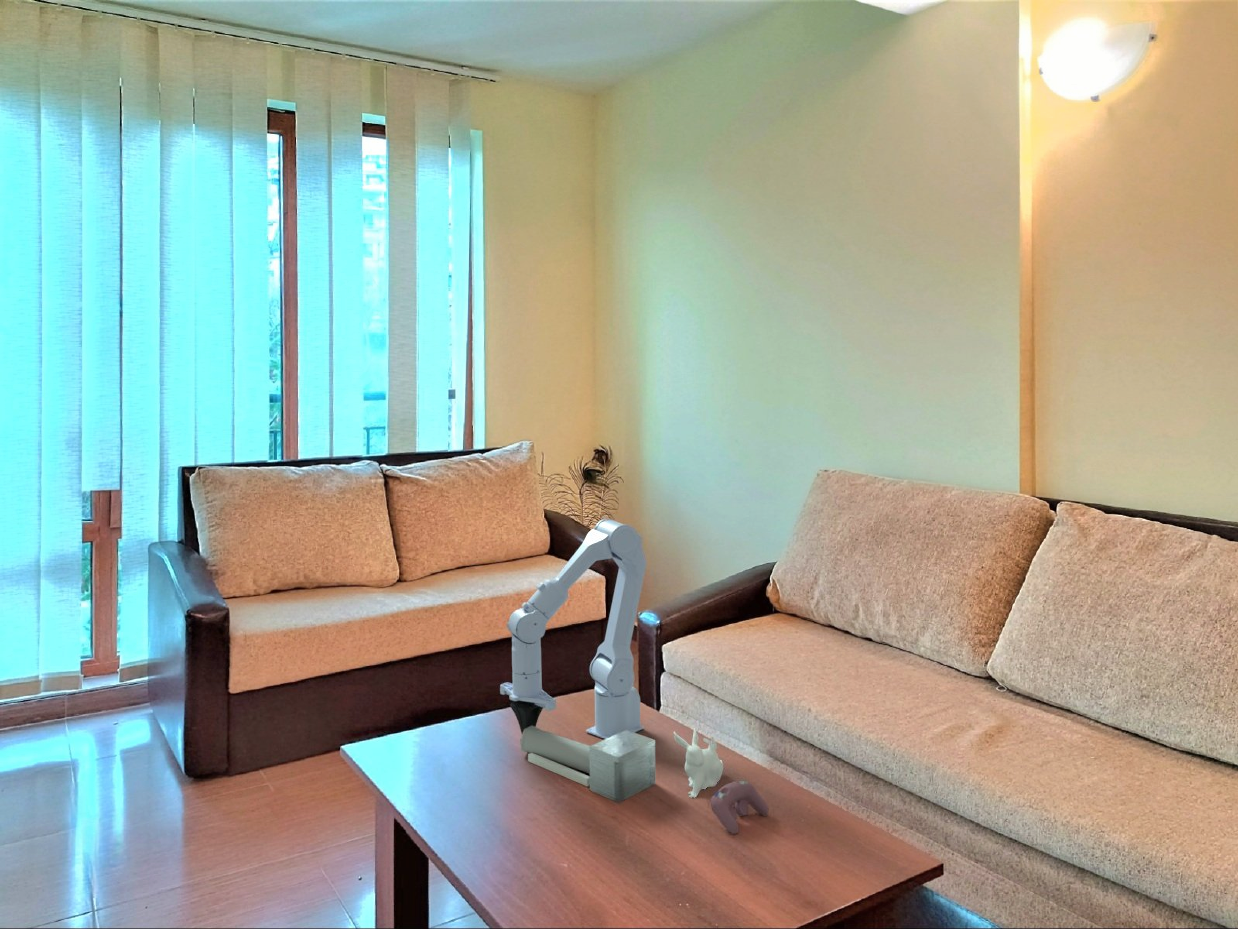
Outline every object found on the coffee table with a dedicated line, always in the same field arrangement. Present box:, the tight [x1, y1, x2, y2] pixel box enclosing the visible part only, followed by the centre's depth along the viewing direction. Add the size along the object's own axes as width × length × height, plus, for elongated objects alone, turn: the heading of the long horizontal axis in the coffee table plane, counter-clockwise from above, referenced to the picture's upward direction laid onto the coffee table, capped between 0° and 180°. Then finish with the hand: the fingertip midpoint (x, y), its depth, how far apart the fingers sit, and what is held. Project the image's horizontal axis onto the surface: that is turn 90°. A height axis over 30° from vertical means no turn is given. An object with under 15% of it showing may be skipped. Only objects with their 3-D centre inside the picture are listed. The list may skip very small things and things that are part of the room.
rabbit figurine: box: [673, 727, 724, 799], centre depth 163 cm, size 12×8×10 cm, turn 138°
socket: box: [589, 730, 656, 804], centre depth 161 cm, size 10×7×8 cm
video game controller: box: [710, 780, 770, 835], centre depth 149 cm, size 10×5×7 cm, turn 135°
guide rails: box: [527, 753, 590, 787], centre depth 170 cm, size 8×16×1 cm, turn 47°
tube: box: [519, 725, 590, 775], centre depth 169 cm, size 5×5×25 cm
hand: (528, 736), depth 179 cm, fingers closed
